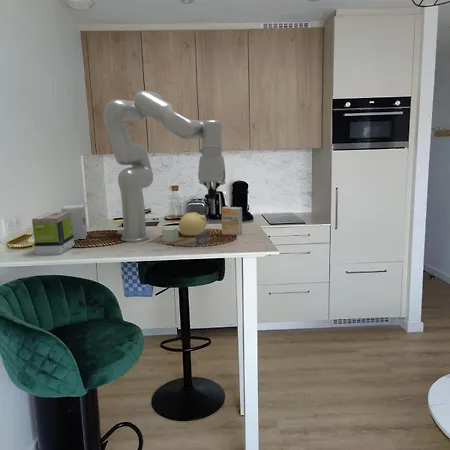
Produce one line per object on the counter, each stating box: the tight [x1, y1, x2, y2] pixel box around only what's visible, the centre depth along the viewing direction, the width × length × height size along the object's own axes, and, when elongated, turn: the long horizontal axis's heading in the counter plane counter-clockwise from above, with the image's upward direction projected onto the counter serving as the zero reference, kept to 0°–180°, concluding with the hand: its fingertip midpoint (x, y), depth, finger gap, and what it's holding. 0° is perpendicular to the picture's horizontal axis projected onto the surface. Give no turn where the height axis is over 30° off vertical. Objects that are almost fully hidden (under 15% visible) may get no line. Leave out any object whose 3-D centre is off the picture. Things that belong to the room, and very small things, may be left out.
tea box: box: [31, 211, 76, 256], centre depth 171 cm, size 15×10×15 cm, turn 178°
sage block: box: [161, 227, 179, 242], centre depth 180 cm, size 5×5×5 cm
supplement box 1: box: [61, 204, 88, 241], centre depth 193 cm, size 9×9×15 cm
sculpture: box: [178, 212, 207, 237], centre depth 193 cm, size 12×12×11 cm
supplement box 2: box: [221, 206, 243, 236], centre depth 190 cm, size 8×5×13 cm, turn 68°
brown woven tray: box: [146, 229, 211, 246], centre depth 179 cm, size 24×12×5 cm, turn 70°
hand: (212, 199), depth 170 cm, fingers closed
